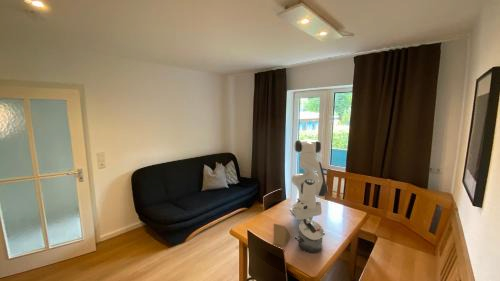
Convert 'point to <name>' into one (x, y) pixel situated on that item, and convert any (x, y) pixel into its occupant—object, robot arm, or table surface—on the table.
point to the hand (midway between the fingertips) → (308, 222)
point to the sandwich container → (281, 235)
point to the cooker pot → (309, 244)
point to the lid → (311, 230)
